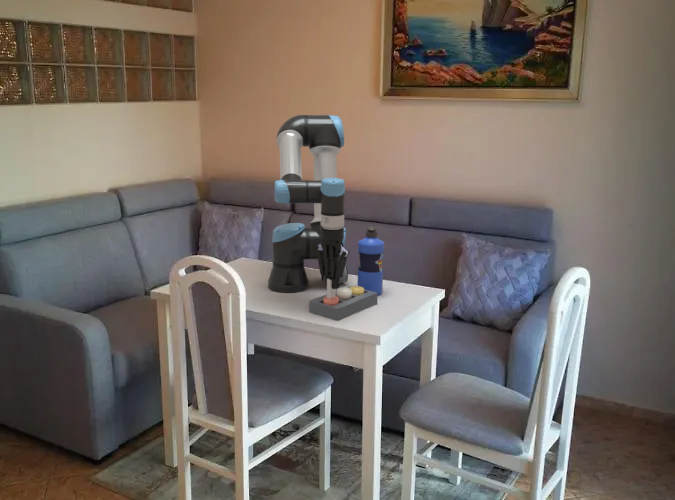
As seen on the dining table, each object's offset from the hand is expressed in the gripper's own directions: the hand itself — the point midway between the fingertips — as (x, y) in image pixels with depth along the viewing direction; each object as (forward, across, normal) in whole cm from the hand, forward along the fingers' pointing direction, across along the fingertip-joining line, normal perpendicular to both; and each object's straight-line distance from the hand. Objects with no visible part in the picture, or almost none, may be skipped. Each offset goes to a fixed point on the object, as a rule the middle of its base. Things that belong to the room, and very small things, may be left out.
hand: (331, 297), depth 220 cm
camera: (+6, -19, +26) cm, 32 cm away
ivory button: (+2, 0, +7) cm, 7 cm away
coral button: (+3, 0, 0) cm, 3 cm away
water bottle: (+6, -3, +26) cm, 27 cm away
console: (+6, 0, +7) cm, 9 cm away
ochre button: (+3, 0, +14) cm, 14 cm away
